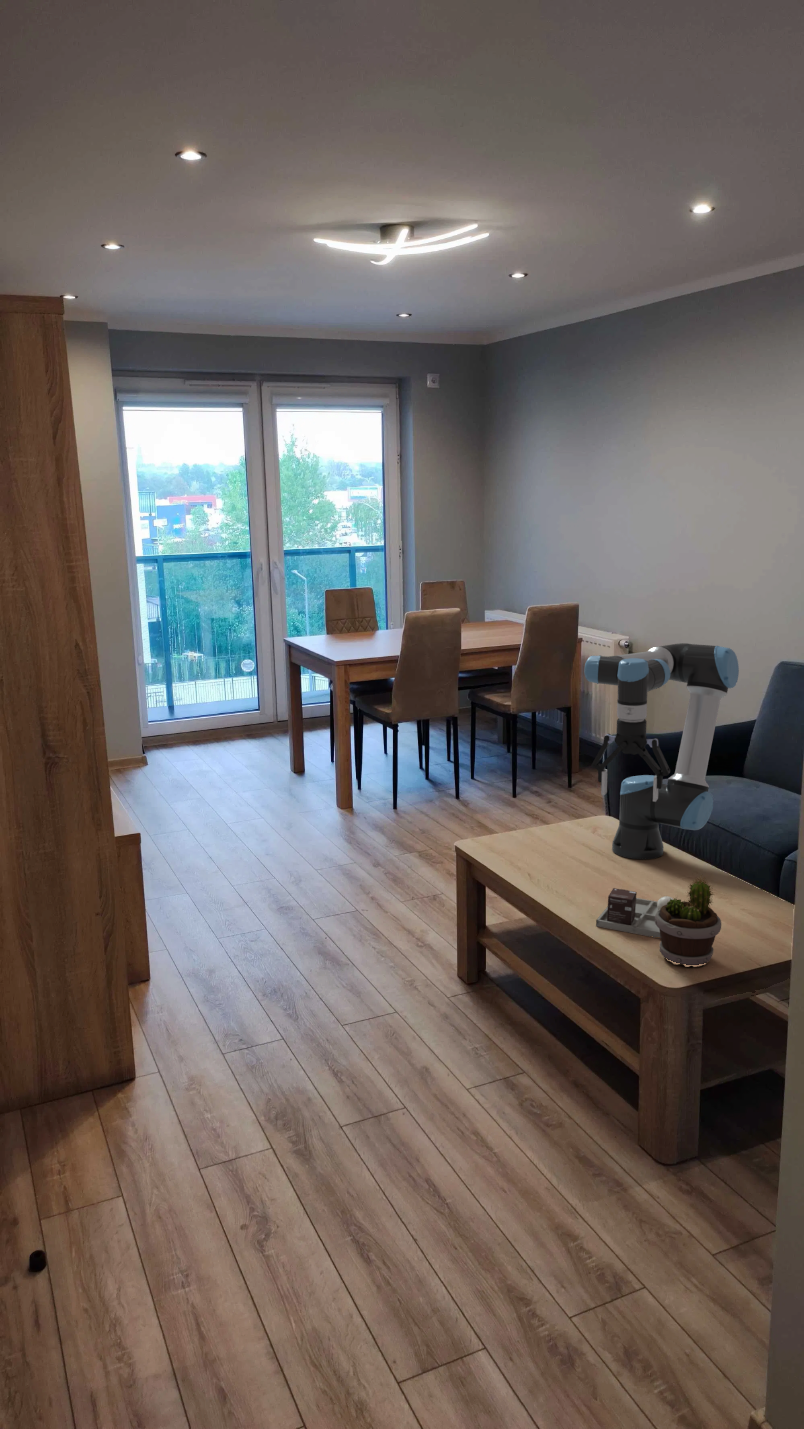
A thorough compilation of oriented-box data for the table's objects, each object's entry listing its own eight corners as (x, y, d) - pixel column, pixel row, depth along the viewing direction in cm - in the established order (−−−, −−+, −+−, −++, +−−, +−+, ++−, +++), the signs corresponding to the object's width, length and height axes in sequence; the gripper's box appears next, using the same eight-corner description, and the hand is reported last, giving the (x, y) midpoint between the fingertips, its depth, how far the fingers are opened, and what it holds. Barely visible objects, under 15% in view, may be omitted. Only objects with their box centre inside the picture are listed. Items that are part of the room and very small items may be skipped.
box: (606, 923, 252) (607, 895, 250) (611, 914, 257) (612, 887, 256) (630, 927, 250) (632, 899, 248) (635, 918, 255) (636, 891, 253)
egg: (659, 909, 260) (659, 892, 260) (677, 912, 258) (678, 895, 257) (654, 916, 256) (655, 898, 255) (673, 919, 254) (674, 901, 253)
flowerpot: (681, 978, 224) (687, 894, 220) (639, 951, 237) (643, 871, 233) (733, 967, 229) (739, 884, 225) (689, 940, 243) (694, 862, 239)
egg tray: (617, 900, 268) (617, 894, 268) (689, 913, 259) (690, 907, 259) (596, 926, 252) (596, 920, 251) (672, 941, 243) (673, 934, 243)
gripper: (580, 718, 263) (579, 795, 268) (677, 726, 252) (674, 806, 257) (588, 711, 270) (587, 787, 275) (683, 719, 259) (680, 798, 264)
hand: (629, 797), depth 266 cm, fingers open, 13 cm apart
